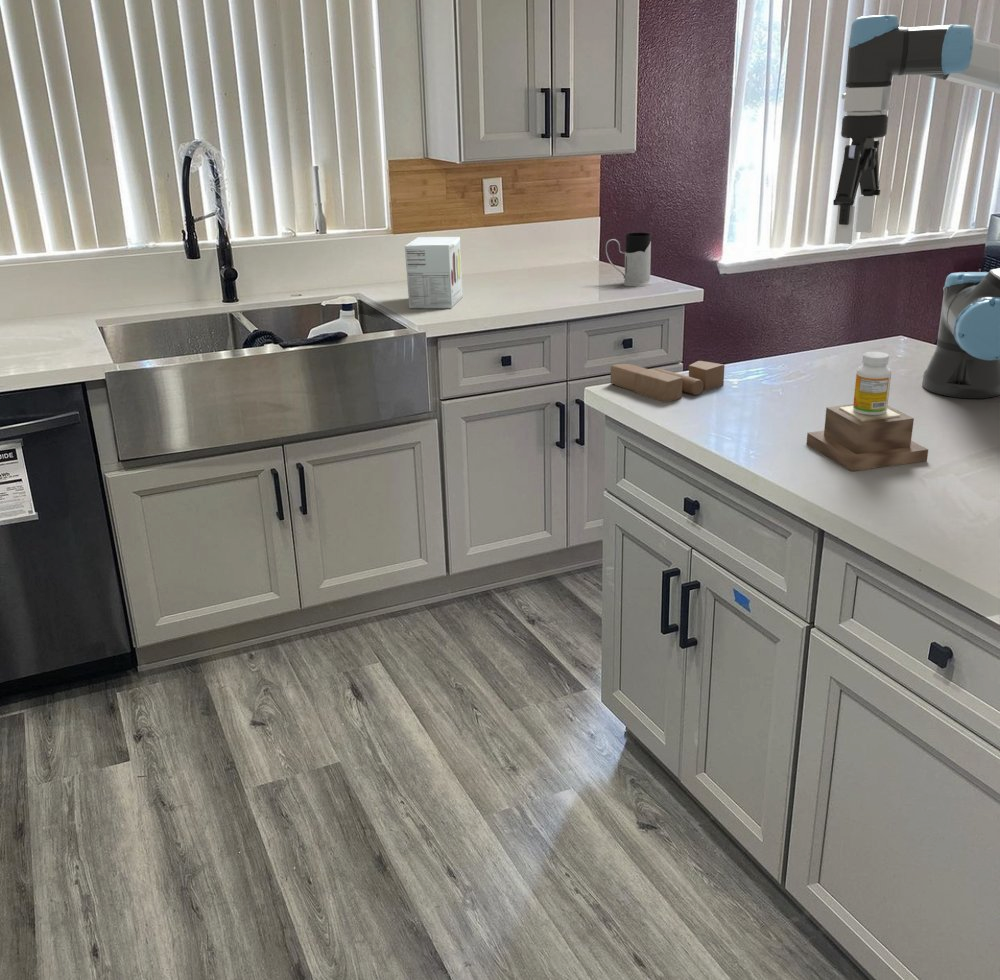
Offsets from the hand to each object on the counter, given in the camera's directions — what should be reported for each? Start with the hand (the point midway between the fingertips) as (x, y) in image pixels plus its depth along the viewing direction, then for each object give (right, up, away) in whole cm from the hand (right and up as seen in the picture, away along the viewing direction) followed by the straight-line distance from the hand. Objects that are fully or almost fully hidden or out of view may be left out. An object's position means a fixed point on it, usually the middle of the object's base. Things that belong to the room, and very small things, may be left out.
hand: (853, 237), depth 182 cm
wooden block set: (-29, -25, +28) cm, 47 cm away
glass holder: (-25, +18, +128) cm, 131 cm away
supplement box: (-83, +9, +113) cm, 141 cm away
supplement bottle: (-3, -33, -15) cm, 36 cm away
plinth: (-2, -40, -12) cm, 42 cm away
